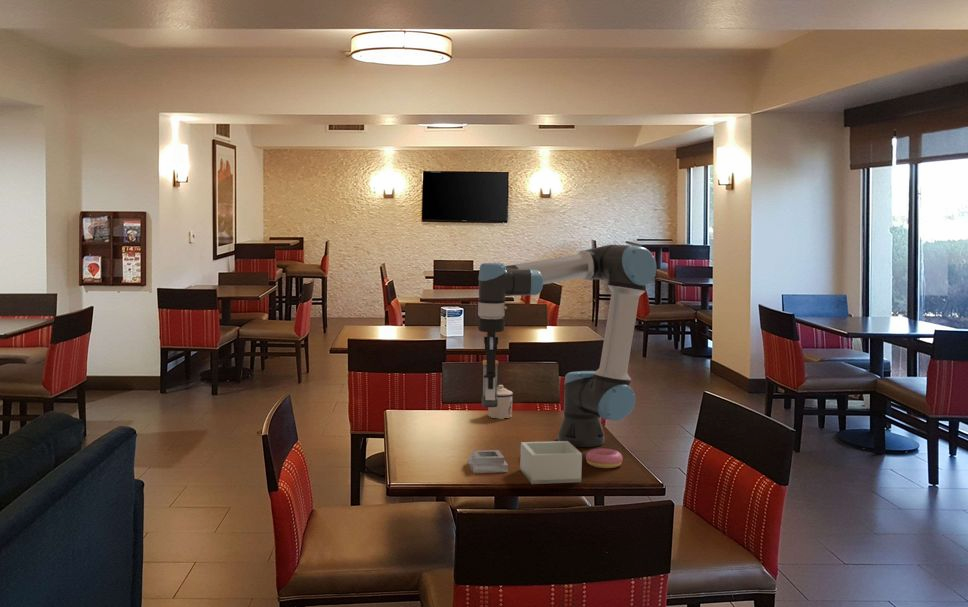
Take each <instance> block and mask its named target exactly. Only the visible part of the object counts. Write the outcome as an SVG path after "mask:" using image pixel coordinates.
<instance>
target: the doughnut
mask: <svg viewBox="0 0 968 607" xmlns="http://www.w3.org/2000/svg"><path fill="white" fill-rule="evenodd" d="M585 458H586V459H585V461H586V463H587V464H588V465H590V466H592V467H594V468H598V469H613V468H614V469H615V468H618V467H620V466H621V464H622V463H623V455H622V453H621V452H619V451H618V450H616V449H612V448H604V447H603V448H602V447H599V448H593V449H590V450H589V451H587V452H586V455H585Z"/></svg>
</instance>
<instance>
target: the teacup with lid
mask: <svg viewBox="0 0 968 607" xmlns="http://www.w3.org/2000/svg"><path fill="white" fill-rule="evenodd" d="M513 395H514V393H513V391H512V390H509V389H507V388H506V387H504V385H503V384H497V397H498V406H497V407H487V408H488V409H487V410H488V412H487V417H488V416H489V417H488V418H490V417H491V418H490V419H492V418H499V419H498V420H505V419H504V418H509V419H511V418H512V416H513ZM510 417H511V418H510Z"/></svg>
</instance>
